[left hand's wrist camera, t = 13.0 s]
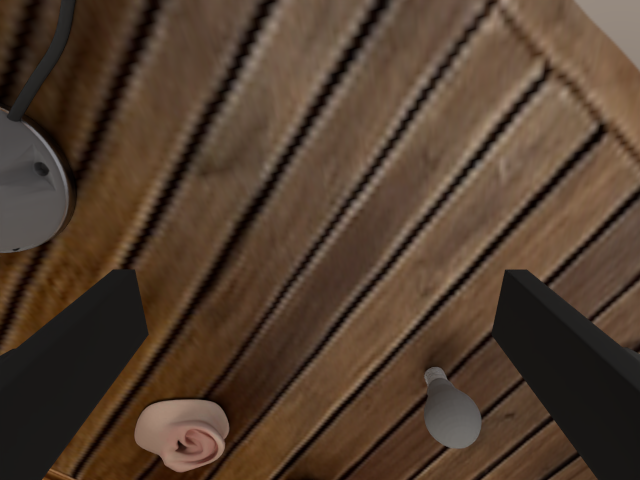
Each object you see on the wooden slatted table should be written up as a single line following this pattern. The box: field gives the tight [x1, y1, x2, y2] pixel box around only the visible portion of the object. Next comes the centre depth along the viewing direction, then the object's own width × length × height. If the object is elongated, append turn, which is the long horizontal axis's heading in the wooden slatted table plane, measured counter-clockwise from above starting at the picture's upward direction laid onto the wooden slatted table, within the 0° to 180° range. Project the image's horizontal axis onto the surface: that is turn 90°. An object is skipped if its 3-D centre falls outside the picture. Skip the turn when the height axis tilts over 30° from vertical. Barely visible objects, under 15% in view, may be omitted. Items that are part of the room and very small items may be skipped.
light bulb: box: [424, 367, 481, 448], centre depth 41 cm, size 6×6×10 cm
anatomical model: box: [135, 400, 229, 472], centre depth 48 cm, size 13×4×12 cm
